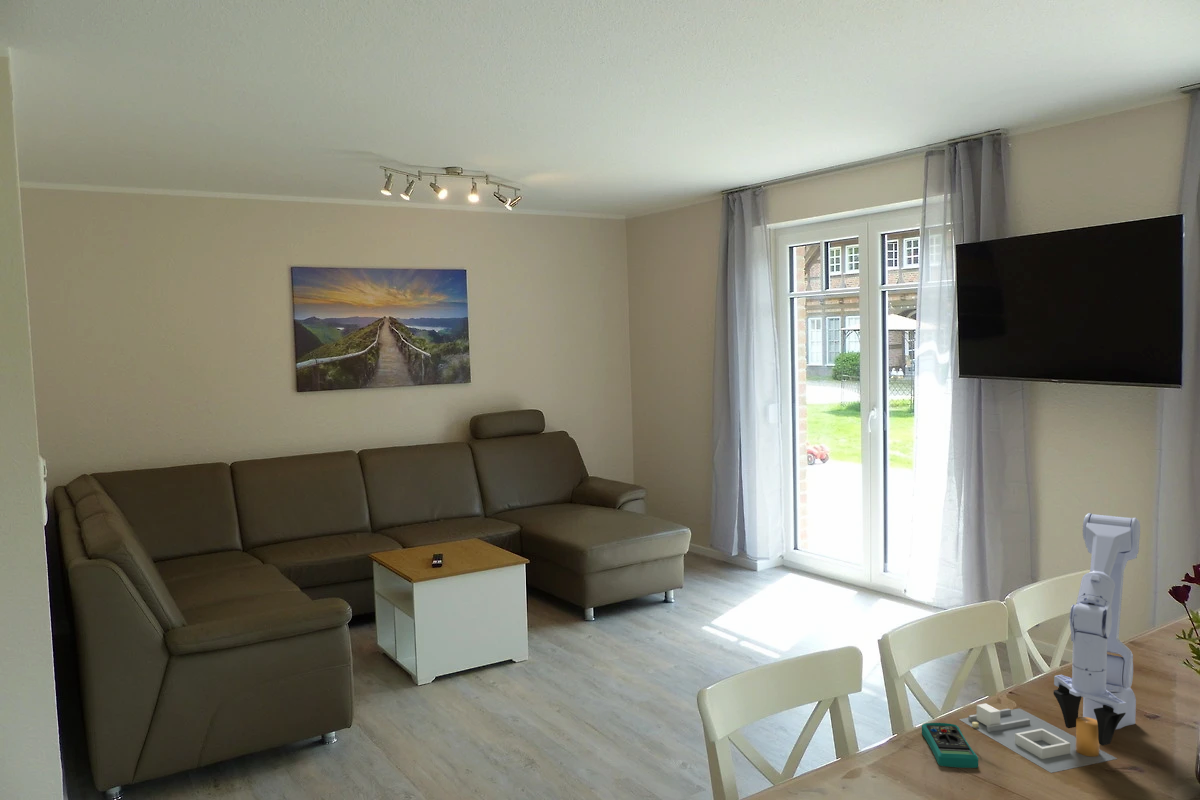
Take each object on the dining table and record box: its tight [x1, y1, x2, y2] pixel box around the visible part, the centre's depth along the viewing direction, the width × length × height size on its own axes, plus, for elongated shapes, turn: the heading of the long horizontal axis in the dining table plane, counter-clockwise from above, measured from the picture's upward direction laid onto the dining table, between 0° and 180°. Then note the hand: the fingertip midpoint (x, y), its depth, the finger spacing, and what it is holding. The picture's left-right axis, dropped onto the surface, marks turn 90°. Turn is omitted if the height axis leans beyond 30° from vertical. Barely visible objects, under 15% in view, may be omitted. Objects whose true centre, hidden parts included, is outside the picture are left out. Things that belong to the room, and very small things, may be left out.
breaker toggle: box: [976, 702, 1000, 726], centre depth 178 cm, size 2×4×3 cm, turn 18°
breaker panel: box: [958, 707, 1118, 774], centre depth 172 cm, size 16×24×3 cm, turn 18°
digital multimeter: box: [921, 722, 980, 769], centre depth 170 cm, size 7×15×3 cm, turn 173°
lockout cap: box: [1075, 716, 1101, 757], centre depth 166 cm, size 4×4×6 cm
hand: (1087, 735), depth 166 cm, fingers open, 7 cm apart
